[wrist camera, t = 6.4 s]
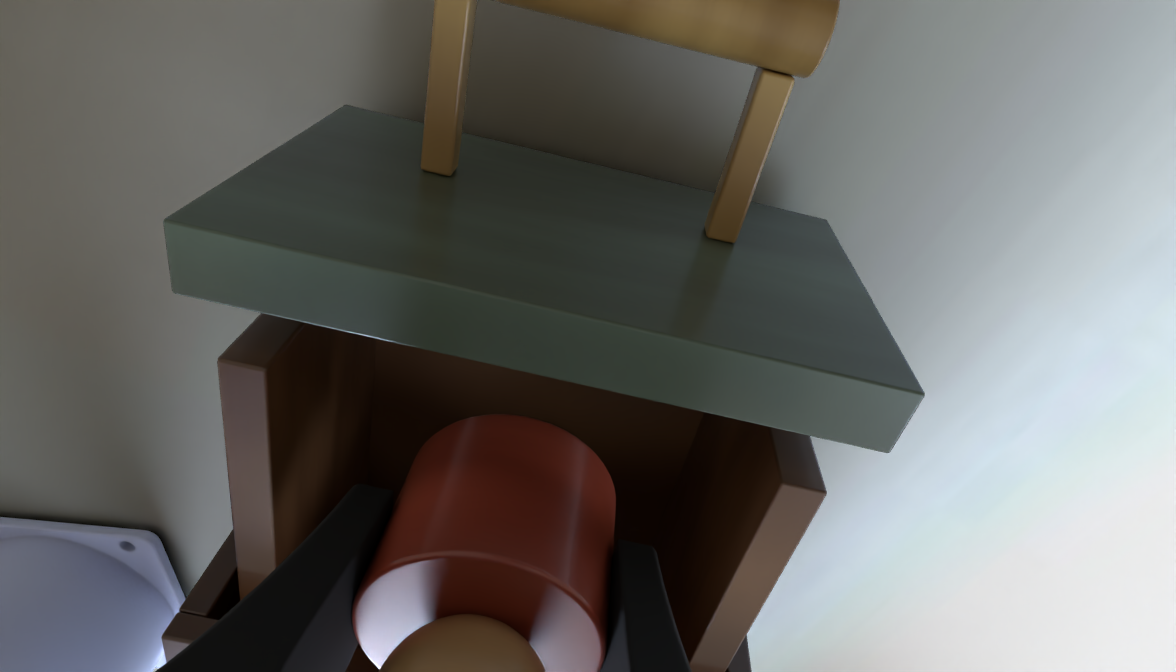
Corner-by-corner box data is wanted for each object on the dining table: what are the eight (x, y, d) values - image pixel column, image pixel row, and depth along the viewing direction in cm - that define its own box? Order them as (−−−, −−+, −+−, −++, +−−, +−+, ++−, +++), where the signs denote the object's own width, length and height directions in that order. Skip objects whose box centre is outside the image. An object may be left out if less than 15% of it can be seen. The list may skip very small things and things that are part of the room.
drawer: (350, -142, 12) (107, -186, 7) (921, 4, 13) (1124, 74, 7) (336, 506, 22) (226, 712, 16) (670, 577, 22) (676, 800, 17)
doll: (421, 553, 14) (307, 868, 10) (401, 403, 12) (243, 712, 8) (610, 570, 14) (588, 901, 9) (622, 421, 12) (604, 749, 7)
